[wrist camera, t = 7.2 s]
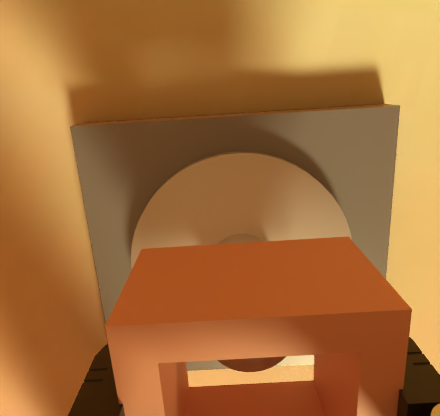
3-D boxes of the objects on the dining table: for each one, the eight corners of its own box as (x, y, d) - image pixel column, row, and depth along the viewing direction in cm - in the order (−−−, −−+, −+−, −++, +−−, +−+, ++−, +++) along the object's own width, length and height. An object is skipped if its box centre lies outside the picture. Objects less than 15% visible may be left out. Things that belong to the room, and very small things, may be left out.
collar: (348, 236, 12) (411, 309, 8) (341, 401, 14) (388, 523, 10) (141, 248, 12) (105, 326, 8) (163, 411, 14) (143, 535, 10)
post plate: (385, 103, 17) (500, 117, 10) (368, 342, 21) (443, 471, 14) (82, 123, 18) (-11, 148, 11) (121, 355, 22) (73, 488, 15)
